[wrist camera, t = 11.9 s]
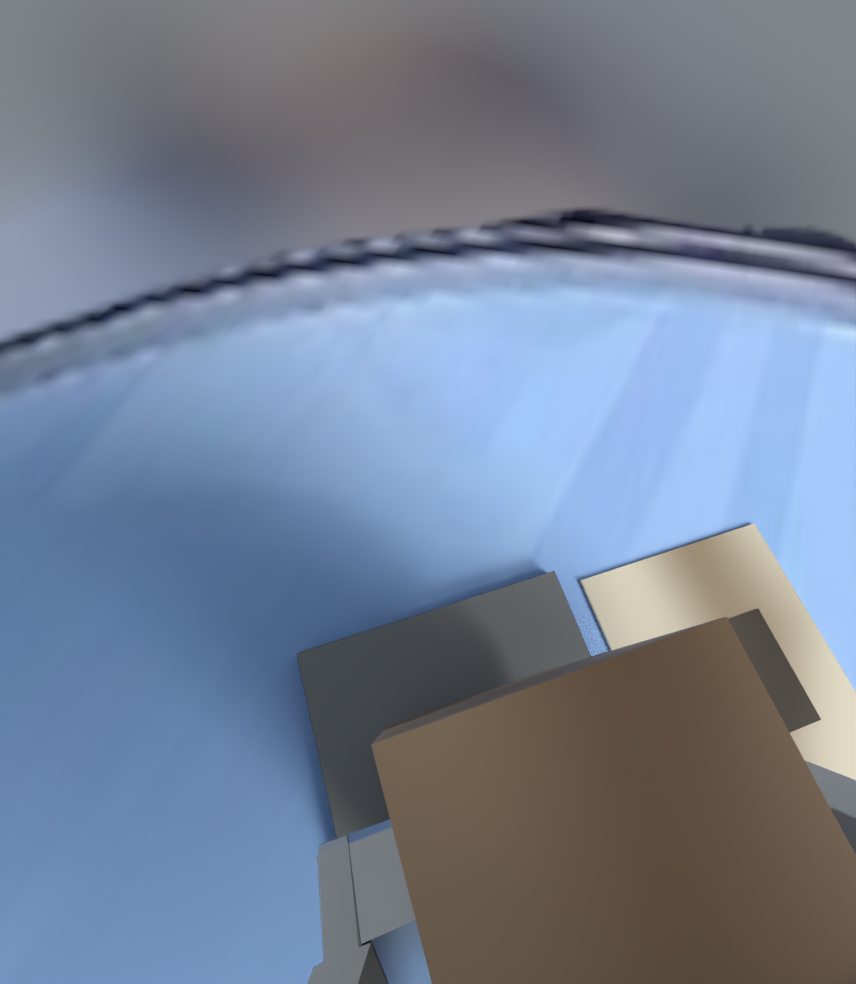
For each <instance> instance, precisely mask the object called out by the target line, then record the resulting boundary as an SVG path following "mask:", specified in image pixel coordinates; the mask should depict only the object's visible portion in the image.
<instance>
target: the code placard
mask: <svg viewBox="0 0 856 984" xmlns="http://www.w3.org/2000/svg"><path fill="white" fill-rule="evenodd" d="M580 583H581V585H582V588H583V590H584V592H585V594H586V597H587V599H588V601H589V603H590V606H591V608H592V610H593V613H594V615H595V617H596V619H597V622H598V624H599V626H600V628H601V631H602V633H603V635H604V637H605V640H606V642H607V644H608V646H609V649H610V651H612V650H615V649H618V648H622V647H625V646H629V645H632V644H635V643H639V642H642V641H645V640H649V639H652V638H656V637H659V636H662V635H666V634H669V633H673V632H676V631H679V630H683V629H686V628H689V627H693V626H696V625H700V624H703V623H706V622H710V621H713V620H716V619H720V618H723V617H727V618H728V620H729V622H730V624H731V626H732V627H733V629H734V631H735V633H736V635H737V637H738V639H739V640H740V642H741V644H742V646H743V648H744V650H745V651H746V653H747V655H748V657H749V659H750V661H751V663H752V664H753V666H754V668H755V670H756V672H757V674H758V675H759V677H760V679H761V681H762V683H763V685H764V687H765V688H766V690H767V692H768V694H769V696H770V698H771V699H772V701H773V703H774V705H775V707H776V709H777V711H778V712H779V714H780V716H781V718H782V720H783V722H784V723H785V725H786V727H787V729H788V731H789V733H790V735H791V736H792V738H793V740H794V742H795V744H796V746H797V747H798V749H799V751H800V753H801V755H802V757H803V759H804V760H806V761H808V762H811V763H813V764H816V765H818V766H821V767H823V768H826V769H829V770H831V771H834V772H836V773H839V774H841V775H844V776H847V777H849V778H852V779H854V780H856V691H855V690H854V688H853V686H852V685H851V683H850V681H849V680H848V678H847V676H846V675H845V673H844V671H843V670H842V668H841V666H840V665H839V663H838V662H837V660H836V658H835V657H834V655H833V653H832V652H831V650H830V648H829V647H828V645H827V643H826V642H825V640H824V638H823V637H822V635H821V633H820V632H819V630H818V628H817V627H816V625H815V623H814V622H813V620H812V618H811V617H810V615H809V613H808V612H807V610H806V608H805V607H804V605H803V603H802V602H801V600H800V598H799V597H798V595H797V593H796V592H795V590H794V588H793V587H792V585H791V583H790V582H789V580H788V578H787V577H786V575H785V573H784V572H783V570H782V568H781V567H780V565H779V563H778V562H777V560H776V558H775V557H774V555H773V553H772V552H771V550H770V549H769V547H768V545H767V544H766V542H765V540H764V539H763V537H762V535H761V534H760V532H759V530H758V529H757V527H756V525H755V524H751V525H748V526H745V527H742V528H738V529H735V530H732V531H729V532H726V533H723V534H720V535H717V536H714V537H711V538H708V539H705V540H702V541H699V542H696V543H693V544H690V545H687V546H684V547H680V548H677V549H674V550H671V551H668V552H665V553H662V554H659V555H656V556H653V557H650V558H647V559H644V560H641V561H638V562H635V563H632V564H629V565H625V566H622V567H619V568H616V569H613V570H610V571H607V572H604V573H601V574H598V575H595V576H592V577H589V578H586V579H583V580H580Z"/></svg>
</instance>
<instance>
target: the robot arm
mask: <svg viewBox="0 0 856 984" xmlns="http://www.w3.org/2000/svg"><path fill="white" fill-rule="evenodd" d="M805 762H806V764H807V766H808V768H809V770H810V772H811V773H812V775H813V777H814V779H815V781H816V783H817V784H818V786H819V788H820V790H821V792H822V794H823V796H824V797H825V799H826V801H827V803H828V805H829V807H830V808H831V810H832V812H833V814H834V816H835V818H836V820H837V821H838V823H839V825H840V827H841V829H842V831H843V832H844V834H845V836H846V838H847V840H848V842H849V844H850V845H851V847H852V849H853V851H854V853H855V855H856V780H854V779H852V778H849V777H847V776H844V775H841V774H839V773H836V772H834V771H831V770H829V769H826V768H823V767H821V766H818V765H816V764H813V763H811V762H808V761H806V760H805ZM317 860H318V876H319V893H320V909H321V926H322V942H323V959H324V962H322V963H320V964H318V965H316V966H314V968H313V971H312V973H311V976H310V979H309V981H308V984H432V982H431V978H430V974H429V970H428V966H427V962H426V958H425V954H424V951H423V947H422V943H421V939H420V935H419V931H418V927H417V923H416V919H415V915H414V911H413V907H412V903H411V899H410V896H409V892H408V888H407V884H406V880H405V876H404V872H403V868H402V864H401V860H400V856H399V852H398V848H397V844H396V840H395V837H394V833H393V829H392V825H391V821H390V819H388V820H385V821H383V822H380V823H377V824H375V825H372V826H369V827H366V828H364V829H361V830H358V831H356V832H353V833H350V834H347V835H344V836H341V837H339V838H336V839H334V840H331V841H329V842H326V843H323V844H321V845H319V848H318V856H317Z"/></svg>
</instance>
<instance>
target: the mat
mask: <svg viewBox="0 0 856 984" xmlns="http://www.w3.org/2000/svg"><path fill="white" fill-rule="evenodd" d="M588 657H591V656H590V653H589V651H588V649H587V646H586V644H585V641H584V639H583V637H582V634H581V632H580V630H579V627H578V625H577V623H576V620H575V618H574V616H573V613H572V611H571V609H570V606H569V604H568V602H567V599H566V597H565V595H564V592H563V590H562V588H561V585H560V583H559V581H558V578H557V576H556V574H555V571H552V572H549V573H546V574H543V575H540V576H537V577H534V578H531V579H527V580H524V581H521V582H518V583H515V584H512V585H509V586H506V587H503V588H499V589H496V590H493V591H490V592H487V593H484V594H481V595H478V596H474V597H471V598H468V599H465V600H462V601H459V602H456V603H453V604H450V605H446V606H443V607H440V608H437V609H434V610H431V611H428V612H425V613H421V614H418V615H415V616H412V617H409V618H406V619H403V620H400V621H397V622H393V623H390V624H387V625H384V626H381V627H378V628H375V629H372V630H368V631H365V632H362V633H359V634H356V635H353V636H350V637H347V638H344V639H340V640H337V641H334V642H331V643H328V644H325V645H322V646H319V647H315V648H312V649H309V650H306V651H303V652H300V653H297V659H298V663H299V668H300V672H301V677H302V682H303V686H304V691H305V695H306V700H307V705H308V709H309V714H310V718H311V723H312V728H313V732H314V737H315V741H316V746H317V750H318V755H319V760H320V764H321V769H322V773H323V778H324V783H325V787H326V792H327V796H328V801H329V806H330V810H331V815H332V819H333V824H334V828H335V833H336V838H339V837H341V836H344V835H347V834H350V833H353V832H356V831H358V830H361V829H364V828H366V827H369V826H372V825H375V824H377V823H380V822H383V821H385V820H388V819H390V817H389V813H388V809H387V805H386V801H385V797H384V793H383V789H382V785H381V782H380V778H379V774H378V770H377V766H376V762H375V758H374V754H373V750H372V746H371V744H372V743H373V742H374V741H375V740H376V738H377V737H378V736H379V735H380V734H381V732H382V731H383V730H384V729H385V728H386V727H387V726H389V725H392V724H395V723H398V722H400V721H403V720H406V719H409V718H412V717H414V716H417V715H420V714H423V713H426V712H428V711H431V710H434V709H437V708H440V707H442V706H445V705H448V704H451V703H454V702H457V701H459V700H462V699H465V698H468V697H471V696H473V695H476V694H479V693H482V692H485V691H487V690H490V689H493V688H496V687H499V686H501V685H504V684H507V683H510V682H513V681H515V680H518V679H521V678H524V677H527V676H530V675H532V674H535V673H538V672H541V671H544V670H547V669H551V668H554V667H558V666H561V665H564V664H568V663H571V662H575V661H578V660H581V659H585V658H588Z"/></svg>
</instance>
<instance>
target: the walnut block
mask: <svg viewBox="0 0 856 984" xmlns="http://www.w3.org/2000/svg"><path fill="white" fill-rule="evenodd" d="M371 746H372V750H373V754H374V758H375V762H376V766H377V770H378V774H379V778H380V782H381V785H382V789H383V793H384V797H385V801H386V805H387V809H388V813H389V817H390V821H391V825H392V829H393V833H394V837H395V840H396V844H397V848H398V852H399V856H400V860H401V864H402V868H403V872H404V876H405V880H406V884H407V888H408V892H409V896H410V899H411V903H412V907H413V911H414V915H415V919H416V923H417V927H418V931H419V935H420V939H421V943H422V947H423V951H424V954H425V958H426V962H427V966H428V970H429V974H430V978H431V982H432V984H856V855H855V853H854V851H853V849H852V847H851V845H850V844H849V842H848V840H847V838H846V836H845V834H844V832H843V831H842V829H841V827H840V825H839V823H838V821H837V820H836V818H835V816H834V814H833V812H832V810H831V808H830V807H829V805H828V803H827V801H826V799H825V797H824V796H823V794H822V792H821V790H820V788H819V786H818V784H817V783H816V781H815V779H814V777H813V775H812V773H811V772H810V770H809V768H808V766H807V764H806V762H805V760H804V759H803V757H802V755H801V753H800V751H799V749H798V747H797V746H796V744H795V742H794V740H793V738H792V736H791V735H790V733H789V731H788V729H787V727H786V725H785V723H784V722H783V720H782V718H781V716H780V714H779V712H778V711H777V709H776V707H775V705H774V703H773V701H772V699H771V698H770V696H769V694H768V692H767V690H766V688H765V687H764V685H763V683H762V681H761V679H760V677H759V675H758V674H757V672H756V670H755V668H754V666H753V664H752V663H751V661H750V659H749V657H748V655H747V653H746V651H745V650H744V648H743V646H742V644H741V642H740V640H739V639H738V637H737V635H736V633H735V631H734V629H733V627H732V626H731V624H730V622H729V620H728V618H727V617H723V618H720V619H716V620H713V621H710V622H706V623H703V624H700V625H696V626H693V627H689V628H686V629H683V630H679V631H676V632H673V633H669V634H666V635H662V636H659V637H656V638H652V639H649V640H645V641H642V642H639V643H635V644H632V645H629V646H625V647H622V648H618V649H615V650H612V651H608V652H605V653H602V654H598V655H595V656H591V657H588V658H585V659H581V660H578V661H575V662H571V663H568V664H564V665H561V666H558V667H554V668H551V669H547V670H544V671H541V672H538V673H535V674H532V675H530V676H527V677H524V678H521V679H518V680H515V681H513V682H510V683H507V684H504V685H501V686H499V687H496V688H493V689H490V690H487V691H485V692H482V693H479V694H476V695H473V696H471V697H468V698H465V699H462V700H459V701H457V702H454V703H451V704H448V705H445V706H442V707H440V708H437V709H434V710H431V711H428V712H426V713H423V714H420V715H417V716H414V717H412V718H409V719H406V720H403V721H400V722H398V723H395V724H392V725H389V726H387V727H386V728H385V729H384V730H383V731H382V732H381V734H380V735H379V736H378V737H377V738H376V740H375V741H374V742H373V743H372V744H371Z"/></svg>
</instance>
